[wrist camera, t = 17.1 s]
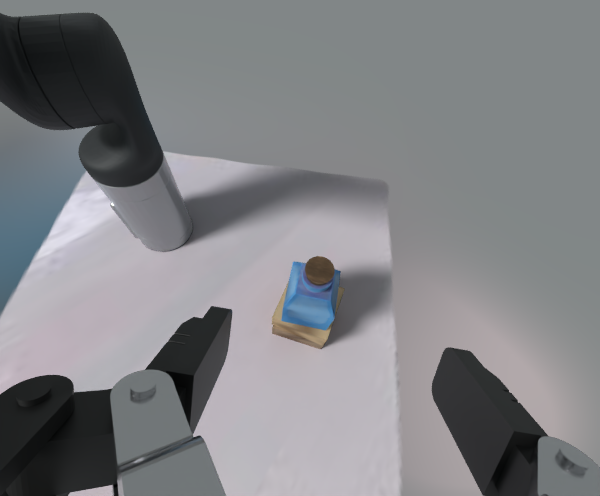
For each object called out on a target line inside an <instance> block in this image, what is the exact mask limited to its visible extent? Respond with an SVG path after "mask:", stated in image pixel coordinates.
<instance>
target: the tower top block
mask: <svg viewBox="0 0 600 496" xmlns="http://www.w3.org/2000/svg"><path fill="white" fill-rule="evenodd" d="M288 283H289V281H288ZM287 287H288V284H287V286H286V288H285V290H284V293H283V295H282V297H281V299H280V301H279V304H278V306H277V308H276V310H275V312H274V315H273V317H272V324H273V325H275V326H277V327H280V328H282V329H284V330H287V331H289V332H291V333H294V334H296V335H298V336H301V337H303V338H305V339H308V340H310V341H312V342H315V343H317V344H319V345H323V344H324V343H325V342H326V341H327V339H328V336H329V333H330V330H331V327H332V324H333V321H334V320H333V321H332V323H331V324H330V325H329V327H328V328H327V330H321V329H316V328H312V327H307V326H302V325H298V324H293V323H288V322H283V321H281V319H282V311H283V305H284V301H285V296H286V292H287ZM343 292H344V288H342V287H339V288H338V295H337V303H336V310H335V315H336V313H337V310H338V307H339V304H340V301H341V298H342V295H343Z"/></svg>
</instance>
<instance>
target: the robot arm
mask: <svg viewBox="0 0 600 496" xmlns="http://www.w3.org/2000/svg"><path fill="white" fill-rule="evenodd" d="M0 102H2V103H3V104H5V105H6V106H7V107H9V108H10V109H11V110H12V111H14V112H15V113H17V114H18V115H19V116H21V117H23V118H24V119H26V120H27V121H29V122H31V123H33V124H35V125H37V126H39V127H42V128H46V129H51V130H69V129H75V128H83V127H89V126H96V127H95V128H93V129H92V130H91V131H89V132H88V133H87V134H86V135H85V137H84V138H83V140H82V141H81V143H80V146H79V157H80V160H81V162H82V164H83V166H84V168H85V169H86V170H87V172H88V173H89V174H90V175H91V177H92V178H93V179H94V181H95V182H96V183H97V184H98V186H99V187H100V188H101V190H102V191H103V192H104V193H105V195H106V196H107V197H108V199H109V200H110V201H111V204H110V206H111V208H112V209H113V210H114V211H115V213H116V214H117V215H118V216H119V218H120V219H121V220H122V221H123V223H124V224H125V225H126V227H127V228H128V229H129V230H130V232H131V233H132V234H133V235H134V237H136V238H139V239H140V240H141V241H142V243H143V244H144V245H145V246H146V247H148V248H150V249H152V250H155V251H170V250H173V249H176V248H178V247H180V246H181V245H183V244H184V243H185V242H186V241H187V240H188V239H189V237H190V235H191V233H192V228H193V225H192V221H191V218H190V216H189V213H188V211H187V208H186V206H185V204H184V201H183V199H182V196H181V194H180V192H179V189H178V187H177V184H176V182H175V180H174V177H173V175H172V172H171V170H170V168H169V165H168V163H167V161H166V158H165V156H164V153H163V151H162V149H161V146H160V144H159V142H158V140H157V137H156V135H155V132H154V130H153V128H152V125H151V123H150V121H149V118H148V115H147V113H146V110H145V108H144V105H143V102H142V99H141V96H140V94H139V91H138V88H137V85H136V82H135V79H134V76H133V73H132V70H131V67H130V65H129V62H128V59H127V57H126V54H125V52H124V50H123V48H122V45H121V43H120V41H119V39H118V37H117V35H116V34H115V32H114V31H113V29H112V28H111V26H110V25H109V24H108V23H107V22H106V21H105V20H104V19H103V18H102V17H100V16H99V15H97V14H94V13H71V14H56V15H39V16H25V17H11V16H6V15H3V14H1V13H0ZM97 125H98V126H97ZM231 320H232V310H231V309H226V308H220V307H214V306H211V307H210V309H209V310H208V312H207V313H206V314H205V316H204V317H203V319H202V318H197V317H193V318H191V319H190V320H188V321H186V322H184V323H182V324H181V326H180V327H179V328H178V329H177V331H176V332H175V334H173V336H172V337H171V338H170V339H169V341H168V342H167V343H166V344H165V345H164V347H163V348H162V349H161V350H160V352H159V353H158V354H157V355H156V357H155V358H154V359H153V360H152V362H151V363H150V364H149V365H148V367H147V368H146V369H145V370H142V371H137V372H134V373H132V374H129V375H127V376H125V377H124V378H122V379H121V380H120V381H119V382H117V383H116V385H115V386H114V387H113V389H108V390H99V391H87V392H75V393H74V387H73V383H72V381H71V380H70V379H68V378H67V377H64V376H60V375H45V376H39V377H35V378H31V379H28V380H25V381H23V382H20V383H18V384H16V385H14V386H12V387H11V388H9V389H7V390H6V391H5V392H3V393H2V394H1V395H0V496H68V494H69V493H70V492H75V491H81V490H86V489H92V488H97V487H103V486H109V485H112V494H113V496H226V494H225V492H224V489H223V487H222V484H221V482H220V479H219V476H218V474H217V471H216V469H215V466H214V464H213V461H212V458H211V456H210V453H209V451H208V448H207V446H206V443H205V441H204V439H203V438H202V437H201V436H196V437H193V433H194V431H195V429H196V426H197V424H198V422H199V419H200V417H201V415H202V413H203V410H204V408H205V406H206V403H207V401H208V399H209V397H210V394H211V392H212V390H213V387H214V385H215V383H216V381H217V378H218V376H219V374H220V371H221V369H222V367H223V365H224V362H225V359H226V356H227V351H228V346H229V337H230V329H231ZM432 395H433V399H434V401H435V403H436V405H437V407H438V409H439V411H440V413H441V415H442V417H443V419H444V421H445V422H446V424H447V426H448V428H449V430H450V432H451V434H452V436H453V438H454V440H455V442H456V444H457V446H458V448H459V450H460V452H461V453H462V455H463V457H464V459H465V461H466V463H467V465H468V467H469V469H470V471H471V473H472V475H473V477H474V479H475V481H476V483H477V485H478V487H479V489H480V491H481V492H482V494H483V495H484V496H600V467H599V466H598V465H597V464H596V463H595V462H594V461H593V460H592V459H591V458H589V457H588V456H587V455H586V454H584V453H583V452H582V451H580V450H579V449H577V448H576V447H574V446H572V445H570V444H569V443H566V442H564V441H562V440H560V439H557V438H553V437H549V436H548V435H547V434H546V433H545V432H544V430H543V429H542V428H541V427H540V426H539V425H538V424H537V422H536V421H535V420H534V419H533V418H532V417H531V415H530V414H529V413H528V412H527V411H526V410H525V408H523V406H522V405H521V404H520V403H518V401H517V399H516V398H515V397H514V396H513V395H512V393H509V390H508V389H507V388H506V387H505V385H504V384H503V383H502V382H501V381H500V380H499V379H498V378H497V377H496V376H495V375H493V374H492V373H491V372H489V371H488V370H487V369H485V368H484V367H483V365H482V364H481V363H480V362H479V361H478V359H477V358H476V357H475V356H474V355H473V354H472V353H471V352H470V351H467V350H461V349H454V348H446V349H445V350H444V352H443V354H442V357H441V360H440V363H439V365H438V368H437V371H436V374H435V376H434V379H433V383H432Z"/></svg>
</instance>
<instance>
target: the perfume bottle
mask: <svg viewBox="0 0 600 496" xmlns="http://www.w3.org/2000/svg"><path fill="white" fill-rule="evenodd" d="M340 273H341V271H338V270H335V269H334V266H333V264H332V263H331V261H330V260H328V259H327V258H325V257H321V256H317V257H313V258H311V259H309V261H308V262H307V263H301V262H293V265H292V270H291V274H290V278H289V283H288V287H287V292H286V296H285V301H284V305H283V311H282V319H281V321H283V322H288V323H293V324H298V325H302V326H307V327H312V328H316V329H321V330H327V328H328V327H329V325H330V324H331V323H332V321H333V320H334V318H335V310H336V303H337V295H338V288H339V280H340Z"/></svg>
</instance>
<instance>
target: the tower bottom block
mask: <svg viewBox="0 0 600 496" xmlns="http://www.w3.org/2000/svg"><path fill="white" fill-rule="evenodd" d="M272 334H275V335H278V336H281V337H284V338H288V339H291V340H294V341H297V342H300V343H303V344H306V345H309V346H312V347H315V348H318V349H321V348H322V347H323V346H324V344H325V343H324V344H323V345H319V344H317V343H315V342H312V341H310V340H308V339H305V338H303V337H301V336H298V335H296V334H294V333H291V332H289V331H287V330H284V329H282V328H280V327H277V326H275V325H273V328H272Z"/></svg>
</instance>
